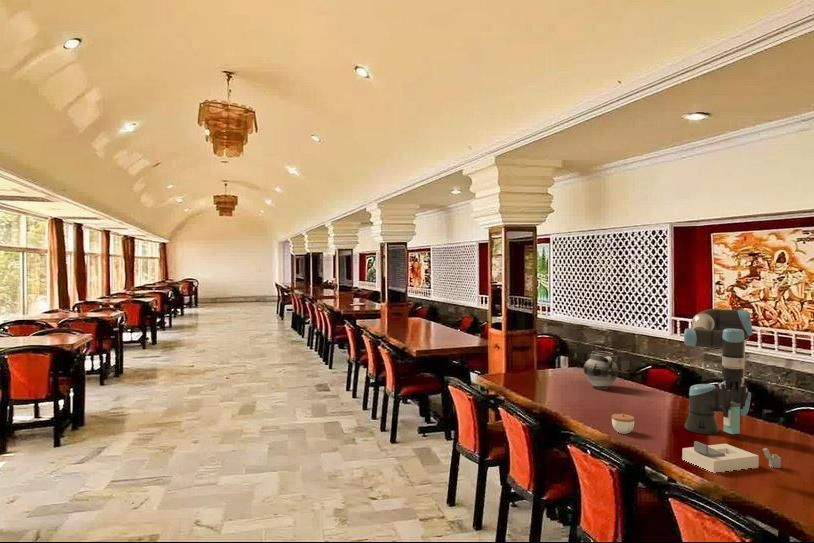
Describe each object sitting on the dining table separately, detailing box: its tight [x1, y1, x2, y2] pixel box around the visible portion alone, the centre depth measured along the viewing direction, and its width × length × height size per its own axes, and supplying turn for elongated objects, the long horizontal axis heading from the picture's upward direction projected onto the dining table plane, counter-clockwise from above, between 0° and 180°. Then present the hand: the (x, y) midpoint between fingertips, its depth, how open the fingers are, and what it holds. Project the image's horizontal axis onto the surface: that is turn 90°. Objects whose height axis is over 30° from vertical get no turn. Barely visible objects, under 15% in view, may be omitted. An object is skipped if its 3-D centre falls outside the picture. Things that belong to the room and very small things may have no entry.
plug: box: [722, 401, 741, 435], centre depth 219 cm, size 4×4×12 cm
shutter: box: [693, 440, 725, 457], centre depth 227 cm, size 9×8×4 cm
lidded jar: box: [611, 413, 636, 435], centre depth 272 cm, size 11×11×9 cm
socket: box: [681, 443, 760, 474], centre depth 229 cm, size 24×16×5 cm, turn 108°
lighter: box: [762, 447, 782, 469], centre depth 226 cm, size 7×2×8 cm, turn 95°
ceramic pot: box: [583, 350, 620, 390], centre depth 372 cm, size 29×23×25 cm
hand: (731, 424), depth 219 cm, fingers closed on plug, 4 cm apart
